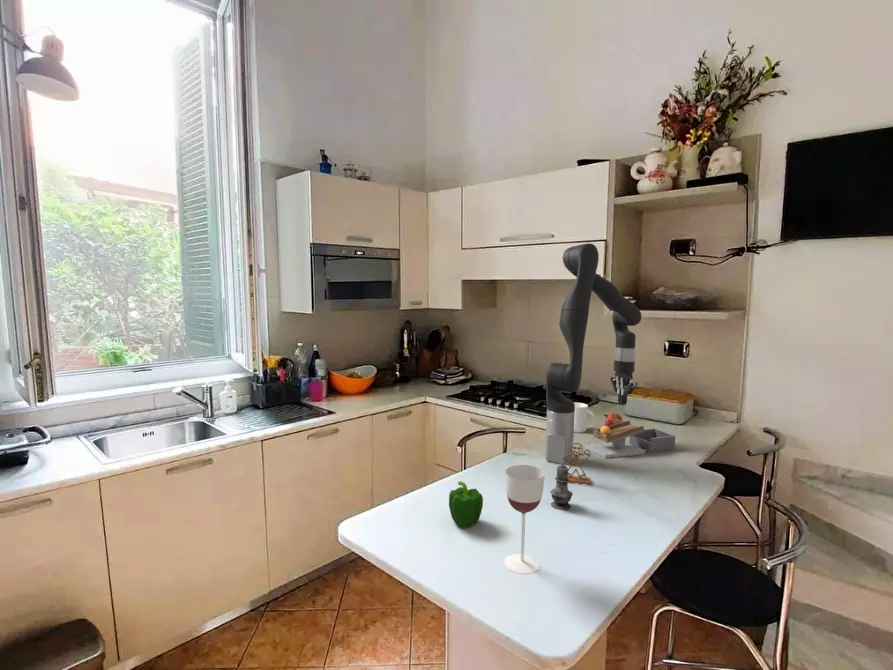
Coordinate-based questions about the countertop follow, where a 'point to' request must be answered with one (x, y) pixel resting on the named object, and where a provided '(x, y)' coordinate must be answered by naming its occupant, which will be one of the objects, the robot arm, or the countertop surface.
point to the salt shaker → (561, 490)
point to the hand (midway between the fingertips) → (622, 404)
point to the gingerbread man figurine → (577, 479)
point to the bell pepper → (465, 505)
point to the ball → (605, 430)
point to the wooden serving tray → (618, 431)
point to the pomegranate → (611, 419)
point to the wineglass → (523, 509)
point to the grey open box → (653, 440)
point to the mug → (582, 418)
